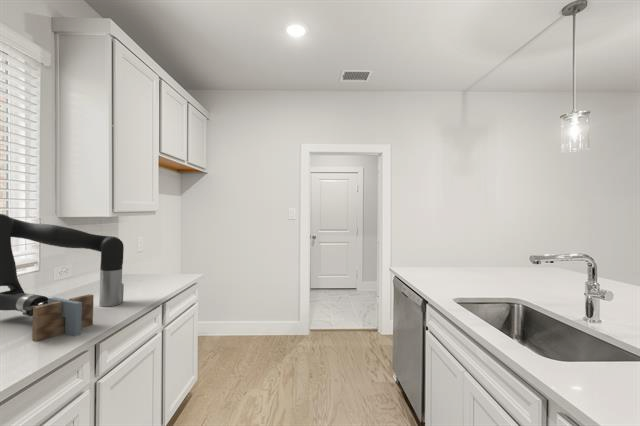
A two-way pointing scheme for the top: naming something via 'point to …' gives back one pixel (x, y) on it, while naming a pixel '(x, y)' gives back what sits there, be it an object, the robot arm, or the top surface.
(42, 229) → the robot arm
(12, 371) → the top surface
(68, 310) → the slate plate
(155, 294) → the top surface
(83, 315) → the walnut board
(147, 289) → the top surface
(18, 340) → the top surface
